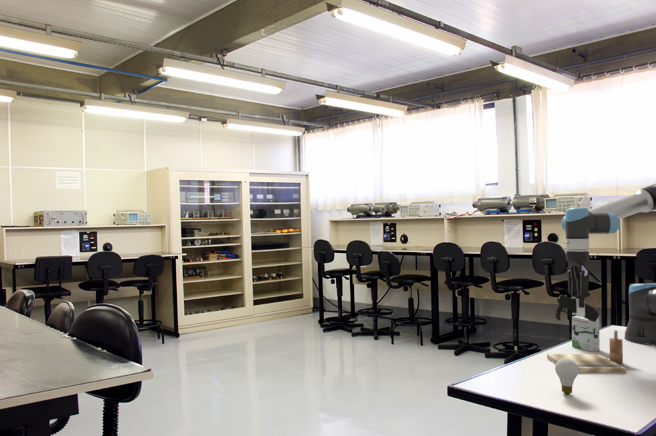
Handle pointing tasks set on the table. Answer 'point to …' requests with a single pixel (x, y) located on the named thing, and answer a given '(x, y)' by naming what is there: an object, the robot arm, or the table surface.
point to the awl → (616, 349)
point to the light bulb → (566, 374)
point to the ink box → (585, 334)
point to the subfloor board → (590, 363)
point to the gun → (571, 305)
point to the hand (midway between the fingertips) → (578, 315)
